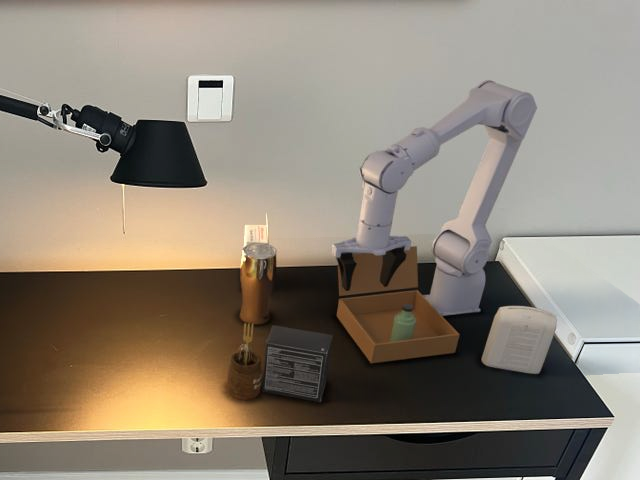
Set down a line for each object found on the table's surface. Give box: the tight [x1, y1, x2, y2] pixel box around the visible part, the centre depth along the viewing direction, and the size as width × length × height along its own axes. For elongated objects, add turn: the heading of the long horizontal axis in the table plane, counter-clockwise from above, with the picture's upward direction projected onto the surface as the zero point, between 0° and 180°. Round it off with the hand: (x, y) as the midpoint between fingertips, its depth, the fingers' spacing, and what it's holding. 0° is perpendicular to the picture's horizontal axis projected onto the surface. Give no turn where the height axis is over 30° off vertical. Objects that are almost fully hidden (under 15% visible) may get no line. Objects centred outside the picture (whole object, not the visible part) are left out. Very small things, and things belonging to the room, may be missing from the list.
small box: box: [261, 325, 333, 403], centre depth 131 cm, size 11×6×10 cm, turn 71°
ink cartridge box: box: [243, 212, 270, 248], centre depth 160 cm, size 9×5×15 cm, turn 177°
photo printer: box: [481, 305, 558, 375], centre depth 135 cm, size 10×4×12 cm, turn 72°
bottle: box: [390, 304, 416, 342], centre depth 142 cm, size 4×4×8 cm
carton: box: [336, 289, 460, 364], centre depth 146 cm, size 17×17×4 cm
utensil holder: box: [226, 322, 263, 401], centre depth 130 cm, size 6×6×12 cm
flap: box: [337, 245, 419, 297], centre depth 150 cm, size 8×17×1 cm
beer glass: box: [239, 243, 278, 326], centre depth 148 cm, size 7×7×15 cm
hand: (364, 286), depth 142 cm, fingers open, 7 cm apart
